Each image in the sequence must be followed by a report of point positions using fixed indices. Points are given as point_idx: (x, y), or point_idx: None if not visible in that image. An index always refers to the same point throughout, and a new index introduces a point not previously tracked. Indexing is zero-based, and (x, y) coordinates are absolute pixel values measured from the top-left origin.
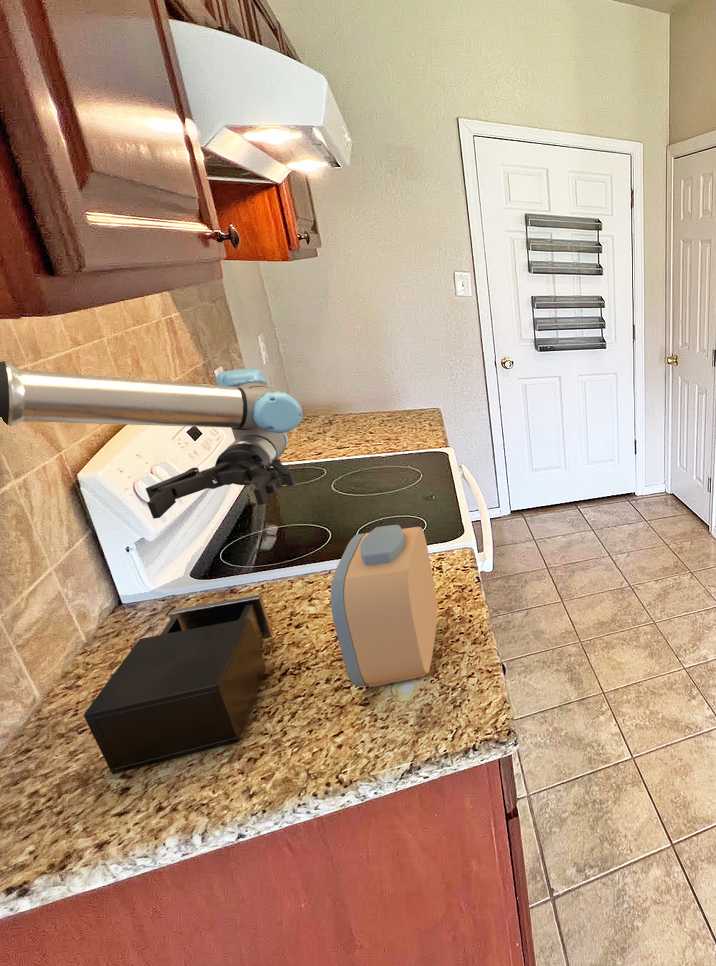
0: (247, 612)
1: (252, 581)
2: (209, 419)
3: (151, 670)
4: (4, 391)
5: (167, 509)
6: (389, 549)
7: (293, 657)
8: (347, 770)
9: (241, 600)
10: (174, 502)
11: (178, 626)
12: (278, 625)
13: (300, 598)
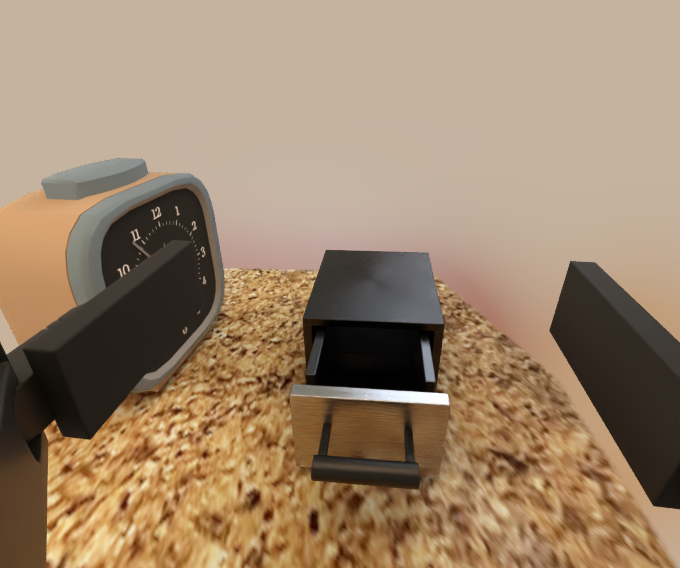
0: (311, 355)
1: None
2: None
3: (395, 276)
4: None
5: (586, 389)
6: (111, 159)
7: (273, 408)
8: (254, 275)
9: (323, 386)
10: (641, 478)
11: (423, 387)
12: (289, 523)
13: None
